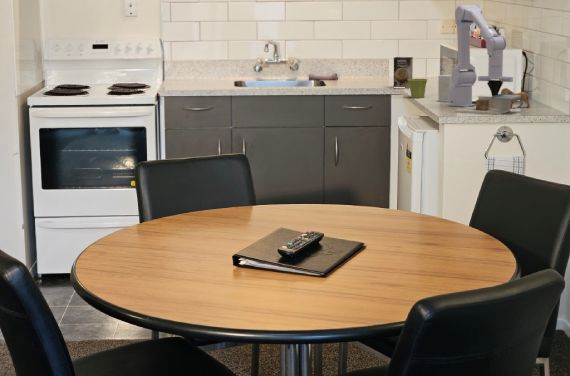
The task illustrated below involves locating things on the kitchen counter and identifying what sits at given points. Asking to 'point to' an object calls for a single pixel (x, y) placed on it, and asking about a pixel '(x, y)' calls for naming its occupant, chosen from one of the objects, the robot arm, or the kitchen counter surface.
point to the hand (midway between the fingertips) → (494, 98)
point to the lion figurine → (523, 98)
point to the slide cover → (506, 97)
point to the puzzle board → (494, 106)
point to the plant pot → (417, 87)
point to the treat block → (482, 105)
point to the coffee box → (402, 71)
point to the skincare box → (444, 87)
